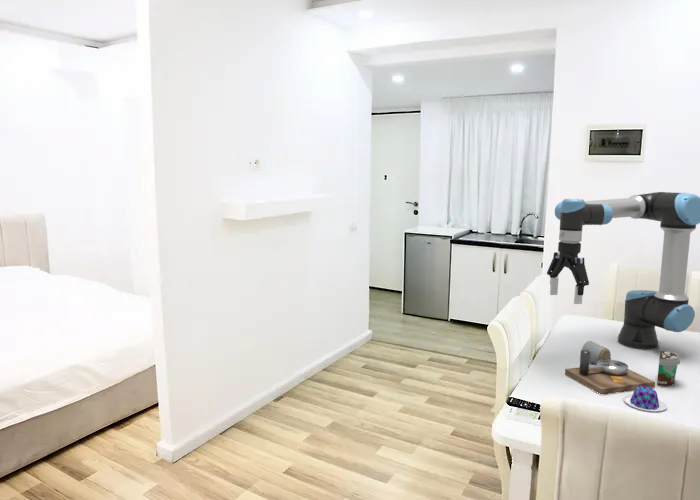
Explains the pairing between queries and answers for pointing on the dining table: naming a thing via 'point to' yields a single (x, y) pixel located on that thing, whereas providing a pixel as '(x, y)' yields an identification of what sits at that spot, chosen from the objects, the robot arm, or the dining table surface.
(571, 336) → the dining table surface
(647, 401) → the pudding
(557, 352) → the dining table surface
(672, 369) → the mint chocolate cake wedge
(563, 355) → the dining table surface
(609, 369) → the steel serving spoon
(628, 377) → the wooden cutting board
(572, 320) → the dining table surface
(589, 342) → the ceramic mug
